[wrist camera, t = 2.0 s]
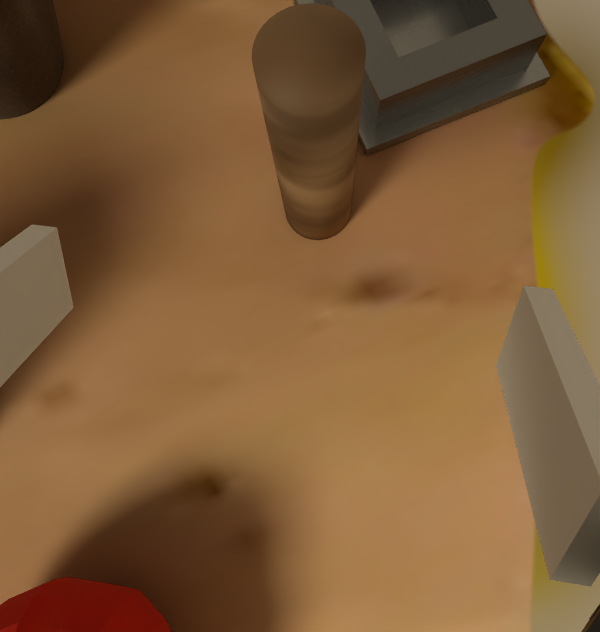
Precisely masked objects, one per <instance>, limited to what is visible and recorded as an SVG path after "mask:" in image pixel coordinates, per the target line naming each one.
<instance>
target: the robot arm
mask: <svg viewBox="0 0 600 632" xmlns="http://www.w3.org/2000/svg"><path fill="white" fill-rule="evenodd" d="M73 308H74V306H73V302H72V297H71V292H70V287H69V283H68V278H67V273H66V268H65V263H64V259H63V254H62V249H61V244H60V240H59V235H58V230H57V227H49V226H41V225H33V224H32V225H30V226H29V227H28V228H26V229H25V230H23V231H22V232H21V233H19V234H18V235H17V236H15V237H14V238H13V239H11V240H10V241H8V242H7V243H6V244H4V245H3V246H2V247H0V387H1V386H2V385H3V384H4V383H5V382H6V381H7V379H8V378H9V377H10V376H11V375H12V374H13V373H14V372H15V371H16V370H17V369H18V367H19V366H20V365H21V364H22V363H23V362H24V361H25V360H26V359H27V358H28V357H29V356H30V354H31V353H32V352H33V351H34V350H35V349H36V348H37V347H38V346H39V345H40V344H41V343H42V341H43V340H44V339H45V338H46V337H47V336H48V335H49V334H50V333H51V332H52V331H53V329H54V328H55V327H56V326H57V325H58V324H59V323H60V322H61V321H62V320H63V319H64V318H65V316H66V315H67V314H68V313H69V312H70V311H71V310H72V309H73ZM496 367H497V371H498V375H499V379H500V383H501V387H502V391H503V395H504V399H505V403H506V407H507V411H508V415H509V419H510V423H511V427H512V431H513V435H514V439H515V443H516V447H517V451H518V455H519V459H520V463H521V467H522V471H523V475H524V479H525V483H526V487H527V491H528V495H529V499H530V503H531V507H532V511H533V515H534V519H535V523H536V527H537V531H538V534H539V539H540V543H541V546H542V550H543V554H544V558H545V562H546V566H547V570H548V574H549V578H550V580H556V581H562V582H567V583H574V584H579V585H585V586H591V585H592V584H593V582H594V581H595V579H596V578H597V576H598V575H599V573H600V385H599V383H598V381H597V379H596V377H595V375H594V373H593V371H592V369H591V367H590V365H589V362H588V360H587V358H586V356H585V354H584V352H583V350H582V348H581V346H580V344H579V342H578V340H577V338H576V336H575V333H574V332H573V329H572V327H571V325H570V323H569V321H568V319H567V317H566V315H565V313H564V311H563V309H562V306H561V304H560V302H559V300H558V298H557V296H556V294H555V292H554V290H553V289H547V288H539V287H532V286H523V289H522V292H521V295H520V298H519V301H518V303H517V306H516V309H515V312H514V315H513V318H512V321H511V324H510V327H509V330H508V332H507V335H506V338H505V341H504V344H503V347H502V350H501V353H500V356H499V359H498V361H497V364H496ZM589 619H590V620H589V622H588V623H587V624H586V626H585V628H584V629H583V630H582V632H600V605H599V606H598V607H597V609H596V610H595V611H594V613H593V614H592V616H591V617H590V618H589Z"/></svg>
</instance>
